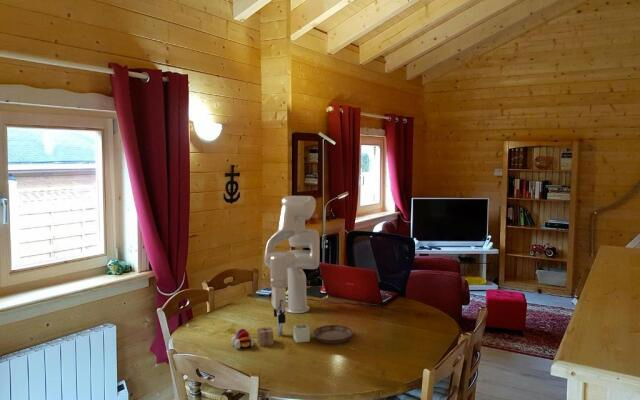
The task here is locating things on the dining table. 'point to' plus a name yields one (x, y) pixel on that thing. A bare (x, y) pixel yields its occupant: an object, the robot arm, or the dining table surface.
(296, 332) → the wide bore block
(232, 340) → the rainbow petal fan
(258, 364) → the dining table surface
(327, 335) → the plant saucer
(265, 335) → the narrow block
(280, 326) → the cylinder
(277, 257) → the robot arm
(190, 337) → the dining table surface
